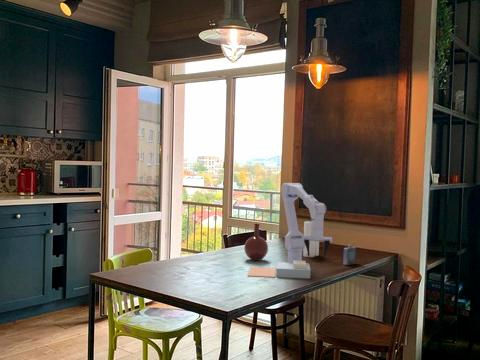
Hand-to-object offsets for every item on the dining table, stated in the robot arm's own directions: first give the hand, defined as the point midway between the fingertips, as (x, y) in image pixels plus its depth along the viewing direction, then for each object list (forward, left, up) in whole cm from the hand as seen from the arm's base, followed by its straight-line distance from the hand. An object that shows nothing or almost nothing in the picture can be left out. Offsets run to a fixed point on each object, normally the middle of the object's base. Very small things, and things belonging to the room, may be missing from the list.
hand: (316, 255), depth 233 cm
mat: (0, -26, -9) cm, 28 cm away
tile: (0, -8, -5) cm, 10 cm away
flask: (-31, +20, -10) cm, 38 cm away
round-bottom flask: (-30, -31, -10) cm, 44 cm away
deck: (0, -11, -9) cm, 14 cm away
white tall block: (-51, 0, -10) cm, 52 cm away
